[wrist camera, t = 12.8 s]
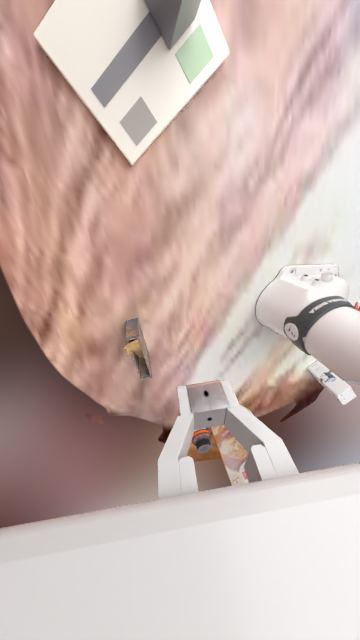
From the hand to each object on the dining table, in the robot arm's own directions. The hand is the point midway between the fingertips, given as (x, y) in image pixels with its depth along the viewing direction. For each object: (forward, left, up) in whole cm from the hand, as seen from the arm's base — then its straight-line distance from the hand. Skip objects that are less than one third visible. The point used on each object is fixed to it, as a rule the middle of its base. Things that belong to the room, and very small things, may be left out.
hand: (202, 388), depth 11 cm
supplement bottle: (-2, +52, -31) cm, 60 cm away
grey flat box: (+7, +16, -31) cm, 36 cm away
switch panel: (-5, -25, -30) cm, 40 cm away
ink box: (-48, +49, -31) cm, 75 cm away
